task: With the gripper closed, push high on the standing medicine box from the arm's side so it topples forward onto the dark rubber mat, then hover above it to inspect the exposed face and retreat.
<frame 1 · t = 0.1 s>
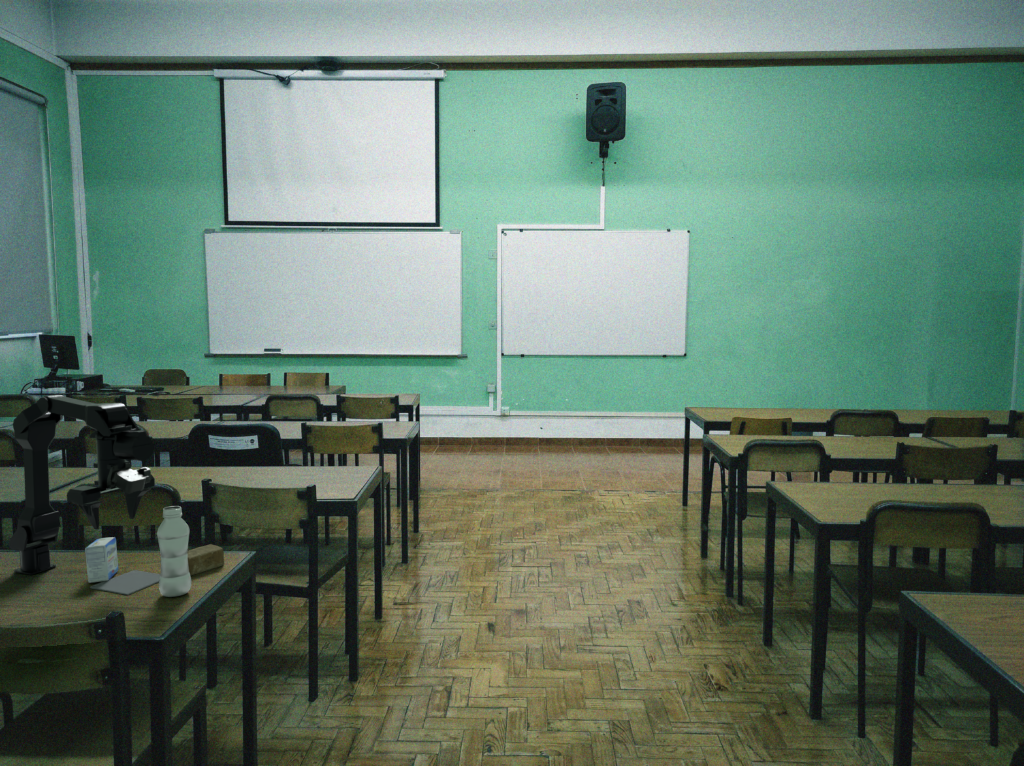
hand: (114, 523, 163), 15 cm above the table, fingers open, 9 cm apart
medicine box: (103, 577, 169), on the table, touching mat
mat: (131, 582, 166), on the table
plastic bottle: (175, 595, 158), on the table
stone block: (199, 570, 175), on the table
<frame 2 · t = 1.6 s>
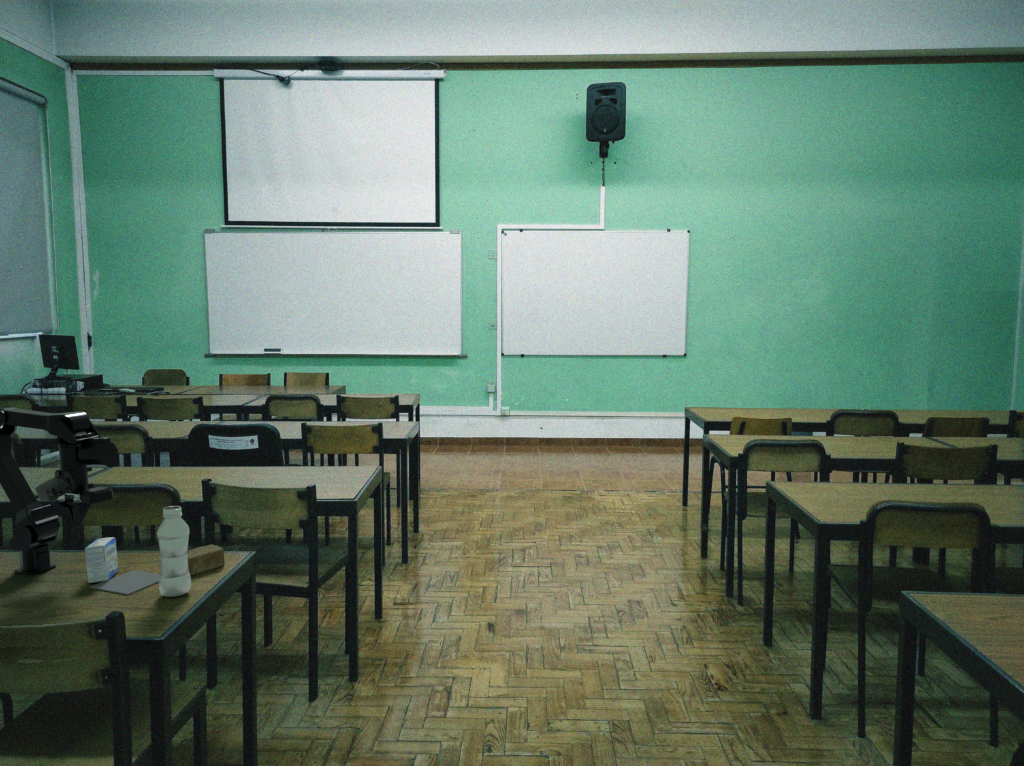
hand: (77, 527, 171), 12 cm above the table, fingers closed
nothing on the table moved.
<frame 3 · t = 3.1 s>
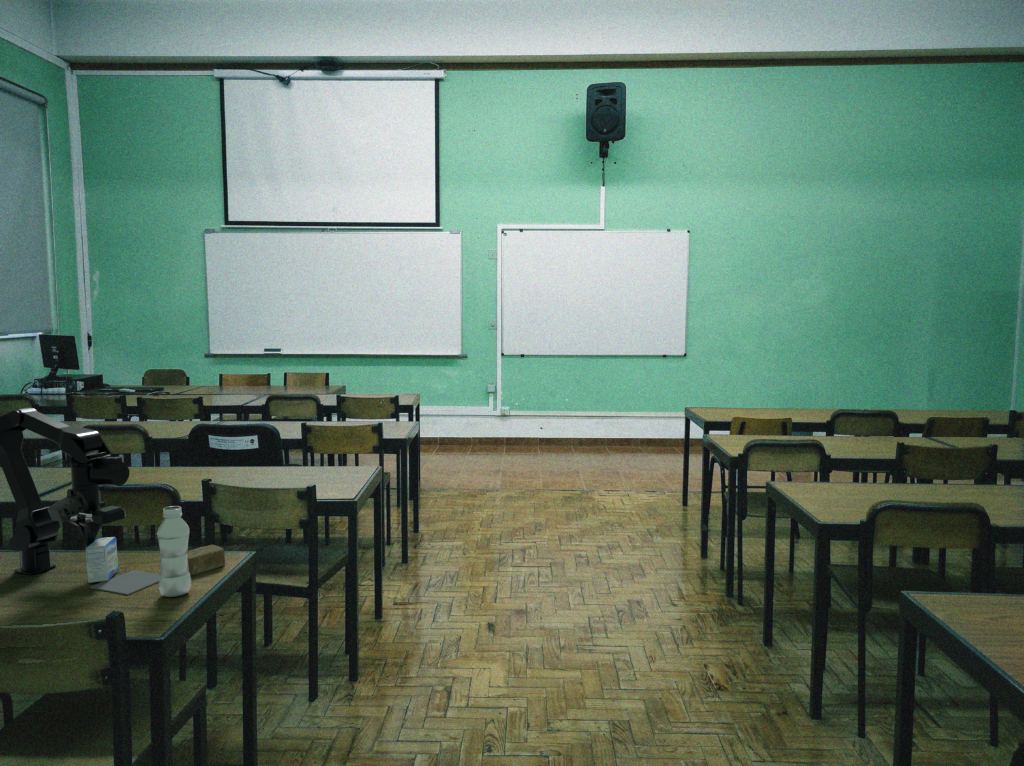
hand: (89, 546, 170), 7 cm above the table, fingers closed
medicine box: (103, 577, 169), on the table, touching gripper, mat
everything else where it was.
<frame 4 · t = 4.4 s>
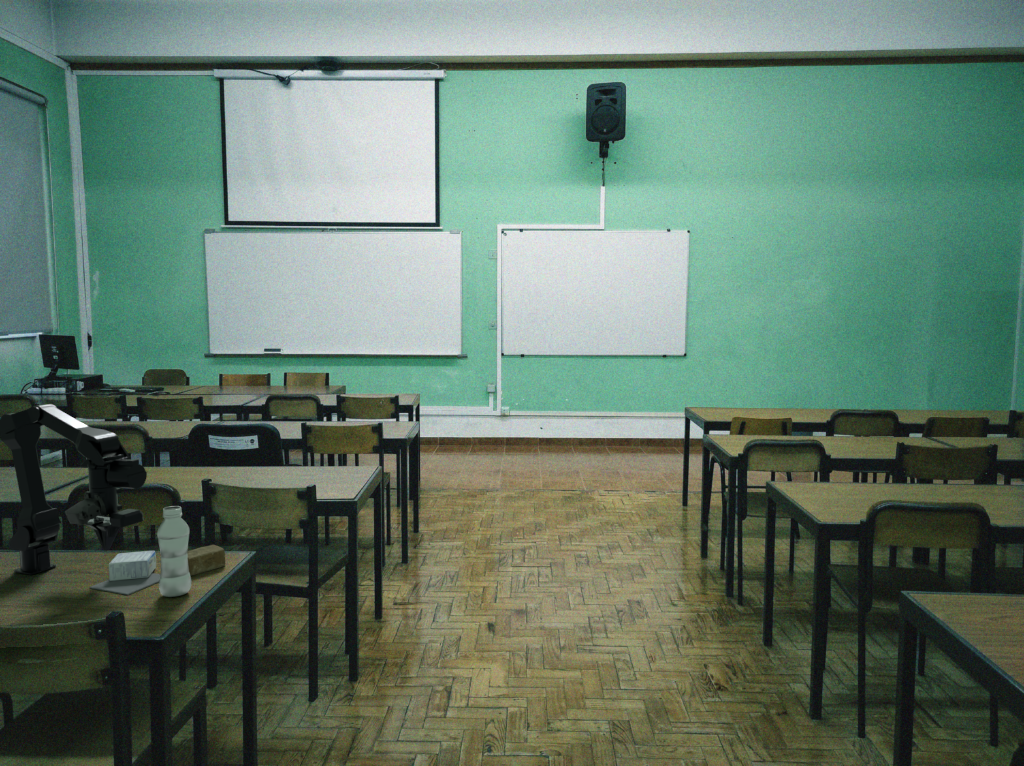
hand: (106, 550, 168), 7 cm above the table, fingers closed
medicine box: (112, 566, 169), point 3 cm above the table, touching mat
everything else where it was.
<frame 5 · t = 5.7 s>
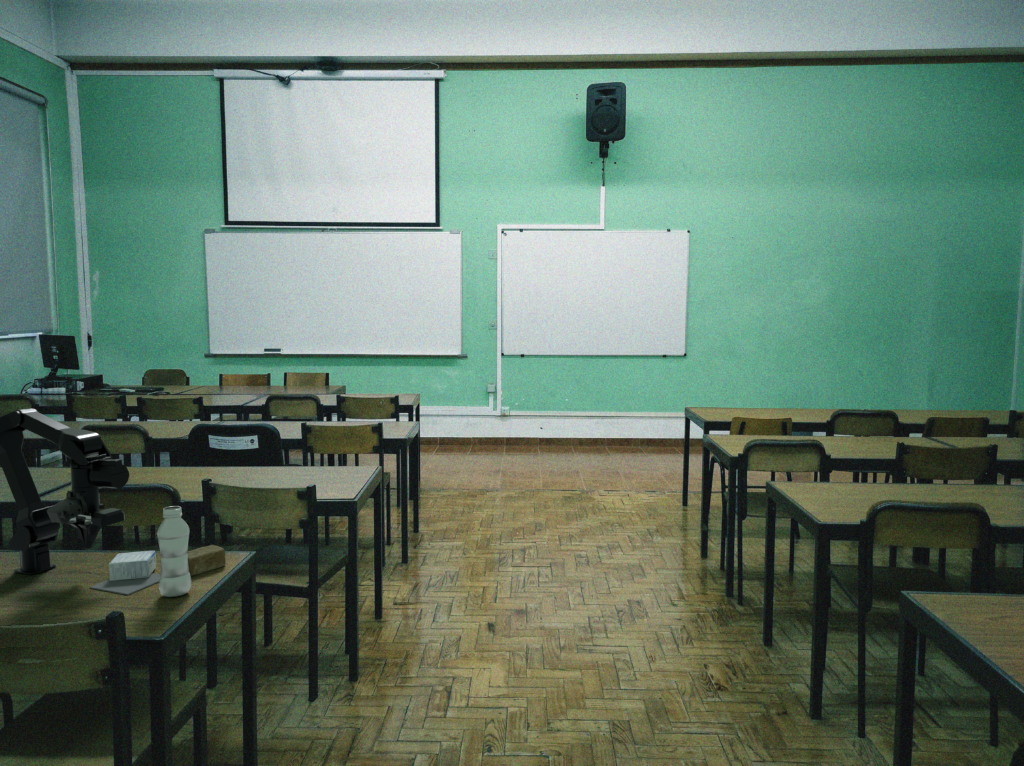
hand: (88, 548, 170), 7 cm above the table, fingers closed
nothing on the table moved.
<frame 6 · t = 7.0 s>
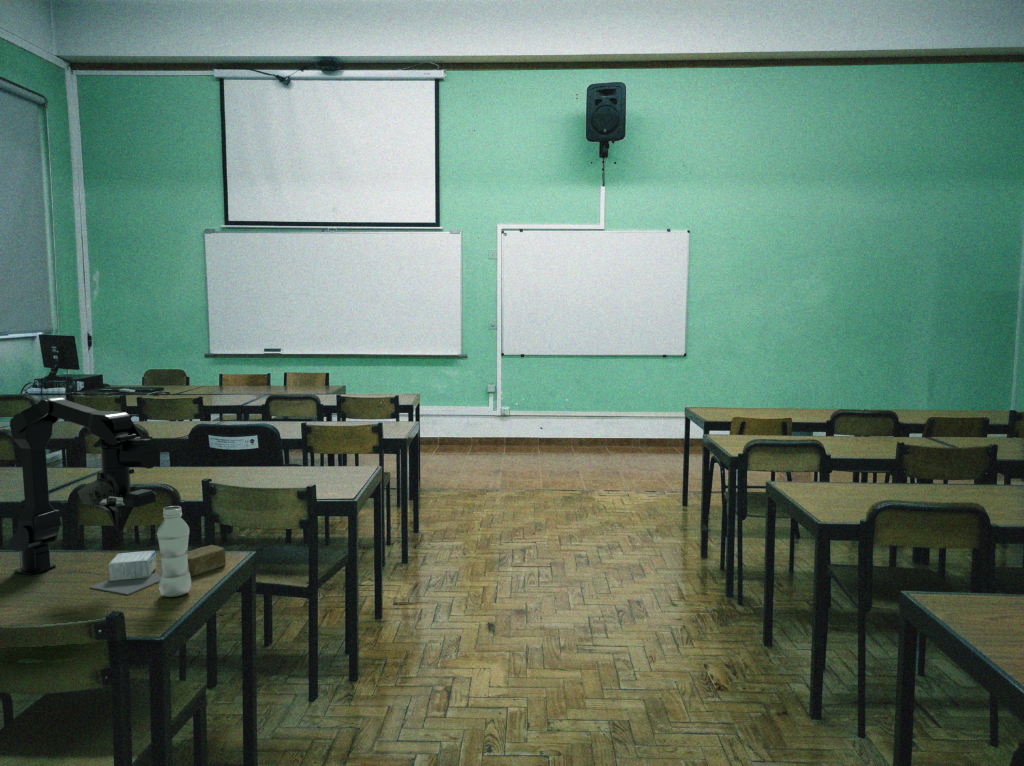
hand: (119, 531, 166), 12 cm above the table, fingers closed
nothing on the table moved.
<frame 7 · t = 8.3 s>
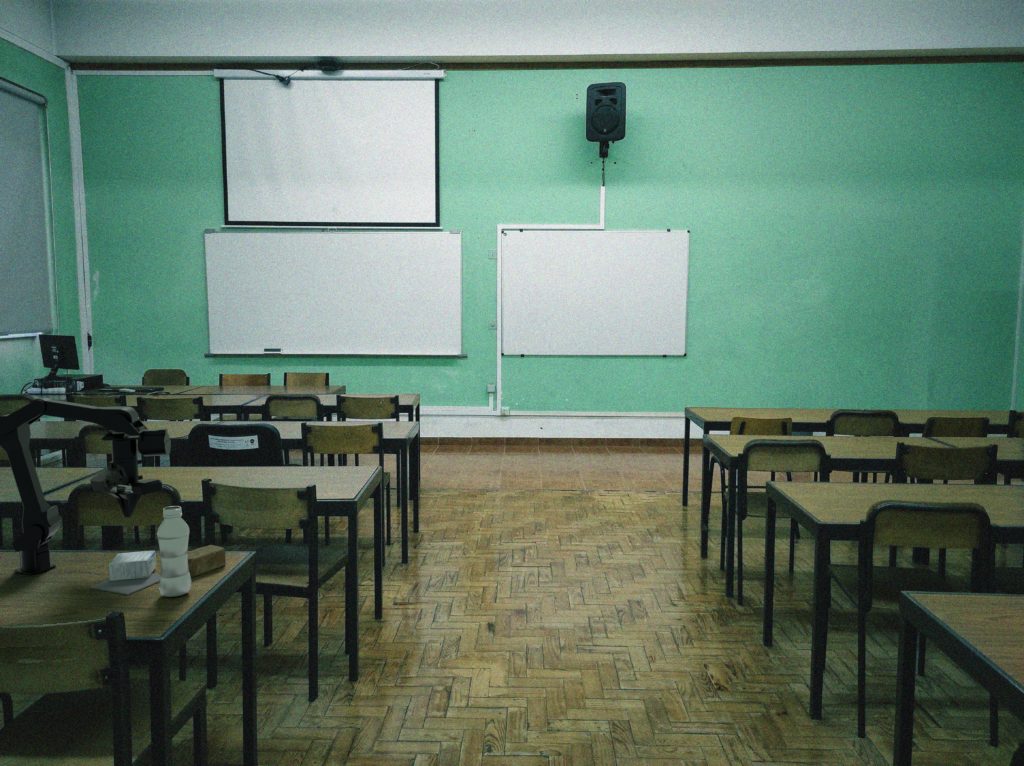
hand: (128, 517, 178), 12 cm above the table, fingers closed
nothing on the table moved.
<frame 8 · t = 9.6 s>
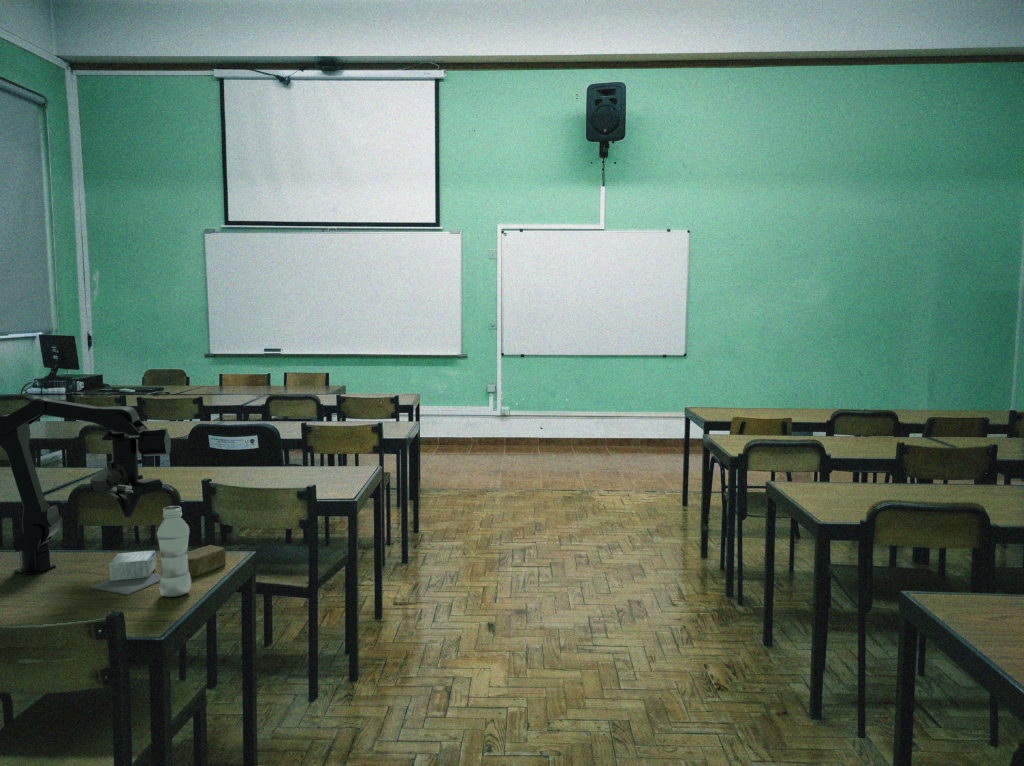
hand: (128, 517, 178), 12 cm above the table, fingers closed
nothing on the table moved.
at the end: medicine box tilted 90°; medicine box inside the target area (4.9 cm from its centre), point 2.5 cm above the table; medicine box touching mat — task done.
